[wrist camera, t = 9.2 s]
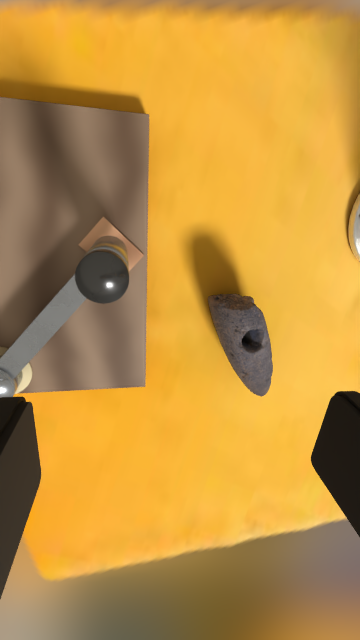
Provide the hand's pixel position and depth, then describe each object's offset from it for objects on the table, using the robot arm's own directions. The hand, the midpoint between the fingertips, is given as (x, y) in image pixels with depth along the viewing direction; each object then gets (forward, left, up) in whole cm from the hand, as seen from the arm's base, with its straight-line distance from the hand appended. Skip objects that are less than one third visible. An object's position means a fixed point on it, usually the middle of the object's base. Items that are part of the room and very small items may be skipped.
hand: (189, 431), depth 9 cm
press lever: (+9, +5, -22) cm, 25 cm away
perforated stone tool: (-12, +8, -25) cm, 29 cm away
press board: (+9, 0, -25) cm, 26 cm away
